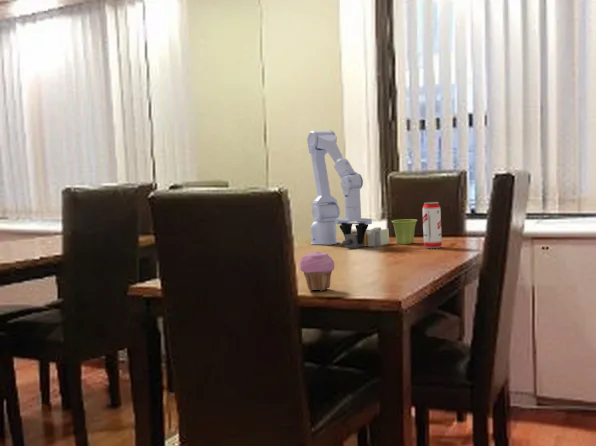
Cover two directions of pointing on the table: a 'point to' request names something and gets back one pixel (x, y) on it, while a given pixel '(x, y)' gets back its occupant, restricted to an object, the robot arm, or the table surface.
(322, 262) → the cupcake
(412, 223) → the plant pot
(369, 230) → the flat metal lever
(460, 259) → the table surface
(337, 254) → the table surface
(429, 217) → the beer can
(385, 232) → the socket block
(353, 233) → the plug
